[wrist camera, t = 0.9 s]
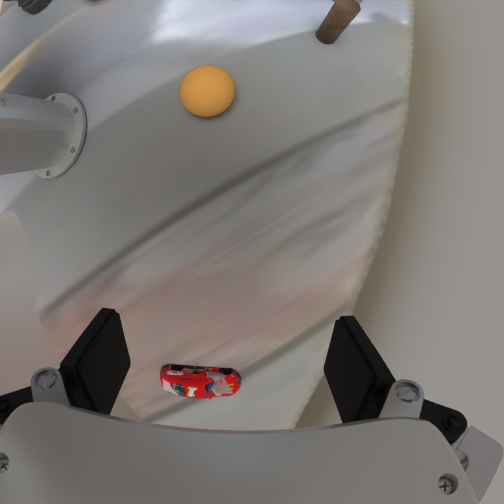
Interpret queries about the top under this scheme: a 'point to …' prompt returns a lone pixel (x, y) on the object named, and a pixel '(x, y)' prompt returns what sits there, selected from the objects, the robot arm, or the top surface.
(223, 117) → the top surface
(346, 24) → the post
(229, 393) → the race car
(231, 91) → the ball
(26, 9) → the candle holder
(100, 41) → the top surface
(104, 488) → the robot arm
